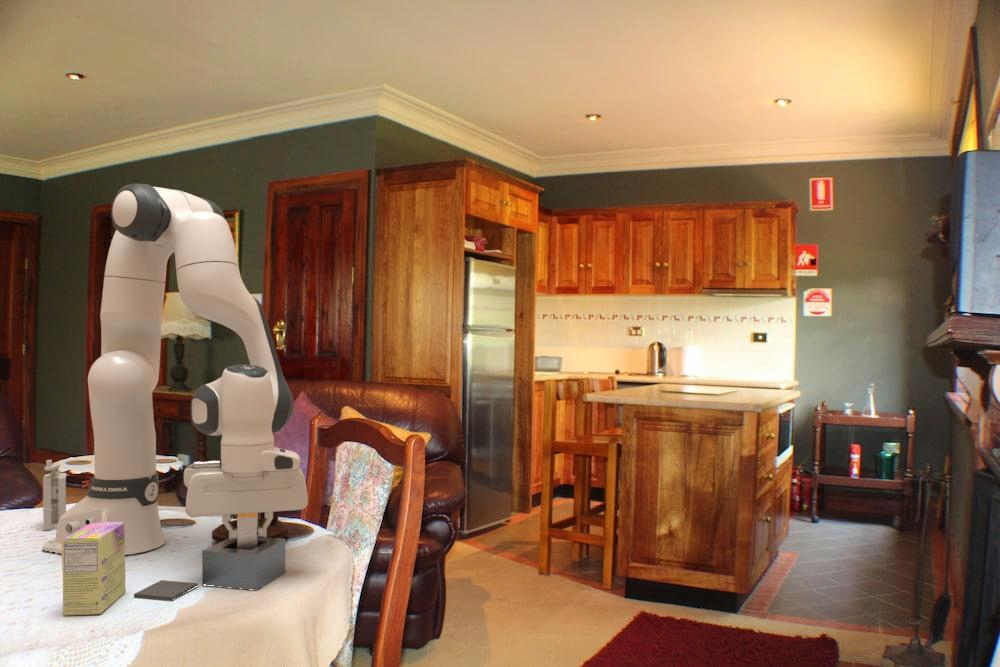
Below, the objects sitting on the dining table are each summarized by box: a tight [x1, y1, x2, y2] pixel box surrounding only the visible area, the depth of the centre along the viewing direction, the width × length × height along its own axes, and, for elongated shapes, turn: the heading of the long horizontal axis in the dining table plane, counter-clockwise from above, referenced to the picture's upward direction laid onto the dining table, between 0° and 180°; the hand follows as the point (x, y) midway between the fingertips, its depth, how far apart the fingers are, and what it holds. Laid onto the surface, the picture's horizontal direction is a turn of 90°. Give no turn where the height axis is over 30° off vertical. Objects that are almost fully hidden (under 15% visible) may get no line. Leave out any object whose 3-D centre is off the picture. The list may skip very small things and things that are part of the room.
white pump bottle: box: [42, 459, 67, 531], centre depth 176 cm, size 4×10×15 cm, turn 25°
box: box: [61, 522, 126, 617], centre depth 128 cm, size 10×6×12 cm, turn 5°
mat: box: [133, 579, 199, 601], centre depth 133 cm, size 7×7×1 cm
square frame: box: [201, 538, 286, 591], centre depth 140 cm, size 10×10×6 cm
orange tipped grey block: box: [236, 512, 258, 550], centre depth 140 cm, size 3×3×10 cm
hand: (248, 538), depth 140 cm, fingers open, 3 cm apart
